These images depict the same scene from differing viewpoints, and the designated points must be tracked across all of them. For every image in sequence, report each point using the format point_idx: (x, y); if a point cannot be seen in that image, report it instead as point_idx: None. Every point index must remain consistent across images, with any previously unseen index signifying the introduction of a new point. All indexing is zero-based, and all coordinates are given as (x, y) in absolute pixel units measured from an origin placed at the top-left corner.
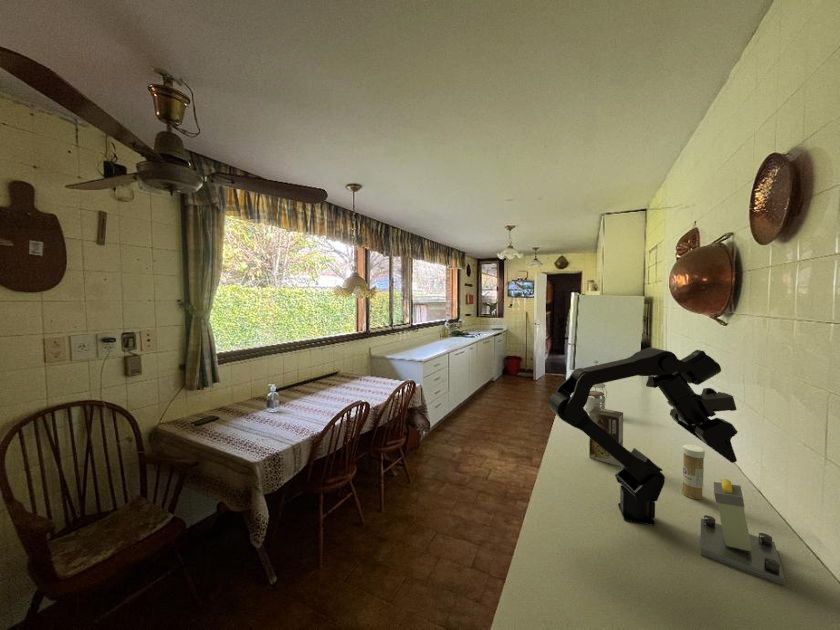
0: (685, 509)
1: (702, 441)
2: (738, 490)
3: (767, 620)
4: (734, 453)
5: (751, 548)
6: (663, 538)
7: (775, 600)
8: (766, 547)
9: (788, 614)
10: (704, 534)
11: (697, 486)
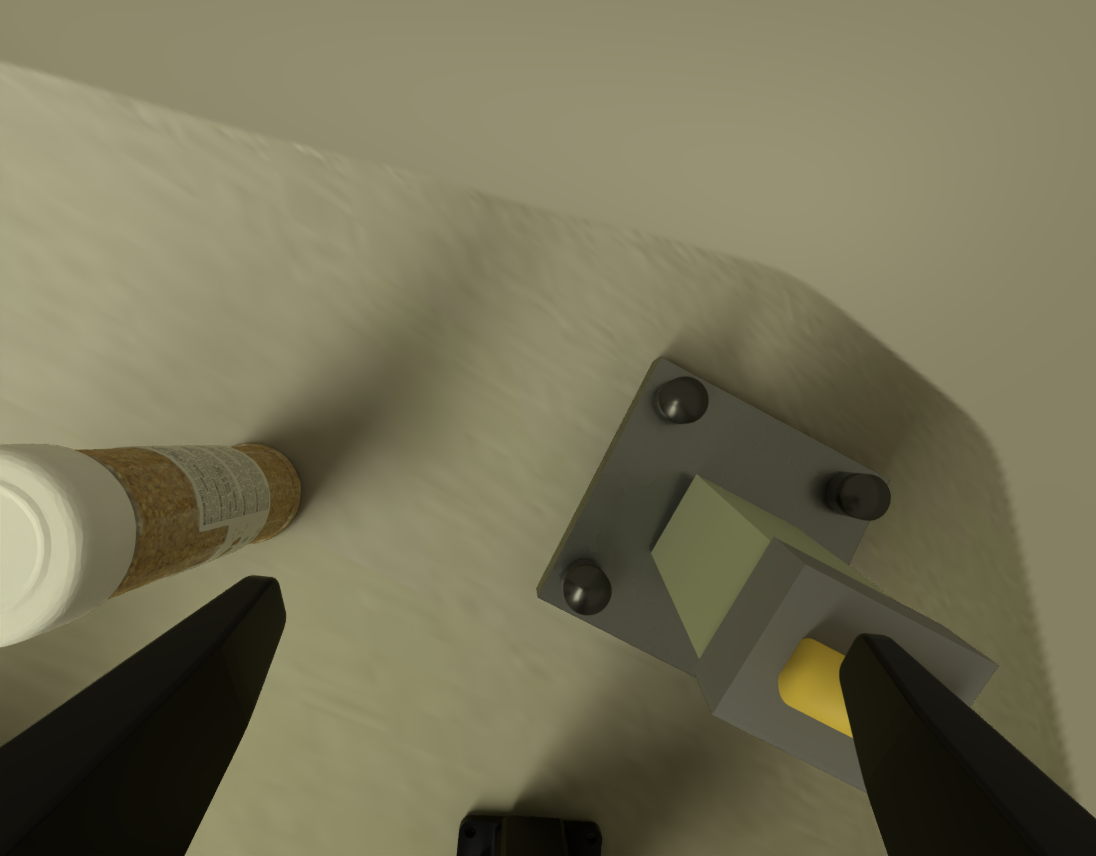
0: (414, 600)
1: (223, 764)
2: (887, 627)
3: (1034, 641)
4: (1012, 747)
5: (803, 532)
6: (683, 816)
7: (943, 556)
8: (709, 420)
9: (994, 554)
10: (671, 649)
11: (267, 499)
